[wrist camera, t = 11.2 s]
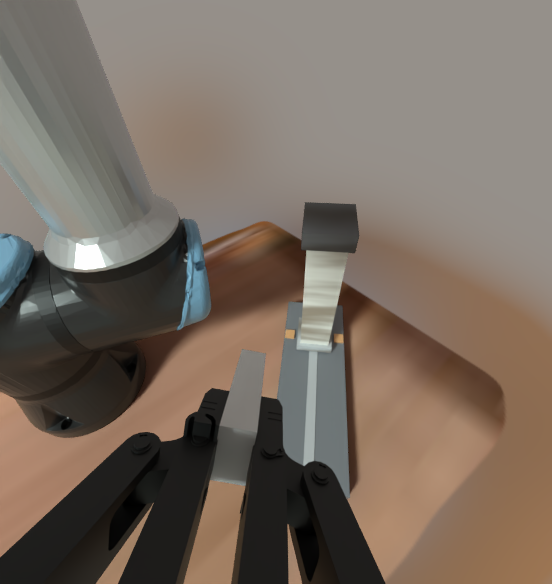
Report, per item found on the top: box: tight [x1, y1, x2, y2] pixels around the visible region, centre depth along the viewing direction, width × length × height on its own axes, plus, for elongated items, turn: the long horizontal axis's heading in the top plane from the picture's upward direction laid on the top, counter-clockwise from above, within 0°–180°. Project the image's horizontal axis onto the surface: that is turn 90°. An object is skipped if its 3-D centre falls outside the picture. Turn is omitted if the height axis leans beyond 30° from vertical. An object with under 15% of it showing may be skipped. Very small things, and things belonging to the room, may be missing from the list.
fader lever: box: [296, 203, 359, 353], centre depth 34 cm, size 5×5×21 cm
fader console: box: [277, 302, 350, 499], centre depth 39 cm, size 26×9×2 cm, turn 173°
